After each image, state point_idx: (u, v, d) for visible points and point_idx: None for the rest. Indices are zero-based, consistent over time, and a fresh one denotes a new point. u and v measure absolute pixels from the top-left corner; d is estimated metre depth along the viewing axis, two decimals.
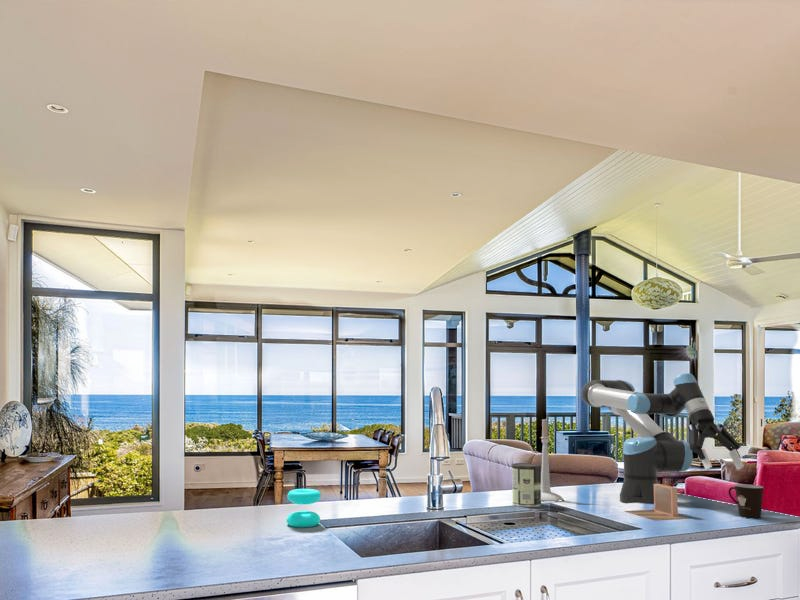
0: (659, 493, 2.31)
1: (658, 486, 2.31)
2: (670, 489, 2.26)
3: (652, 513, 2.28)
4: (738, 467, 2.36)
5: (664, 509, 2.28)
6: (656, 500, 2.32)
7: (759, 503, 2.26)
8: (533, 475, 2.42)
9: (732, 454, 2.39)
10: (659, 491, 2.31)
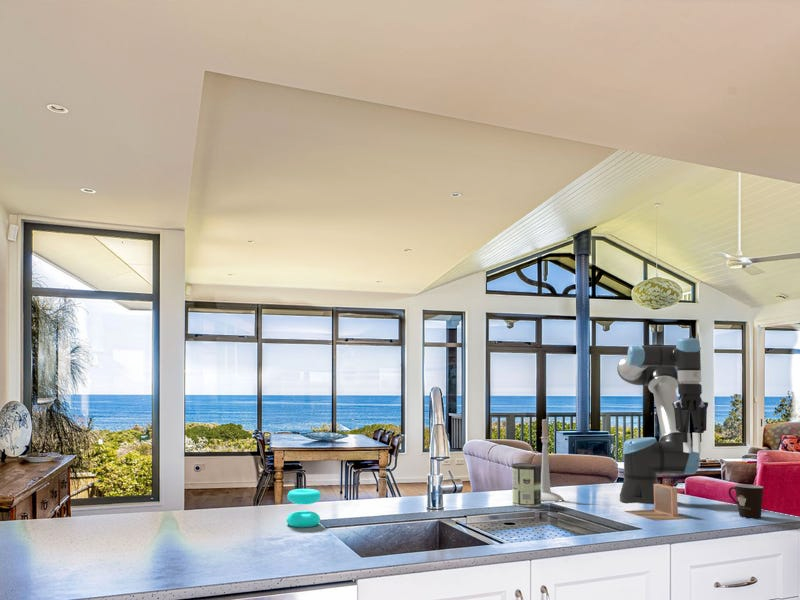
0: (659, 493, 2.31)
1: (658, 486, 2.31)
2: (670, 489, 2.26)
3: (652, 513, 2.28)
4: (695, 450, 2.35)
5: (664, 509, 2.28)
6: (656, 500, 2.32)
7: (759, 503, 2.26)
8: (533, 475, 2.42)
9: (694, 436, 2.36)
10: (659, 491, 2.31)
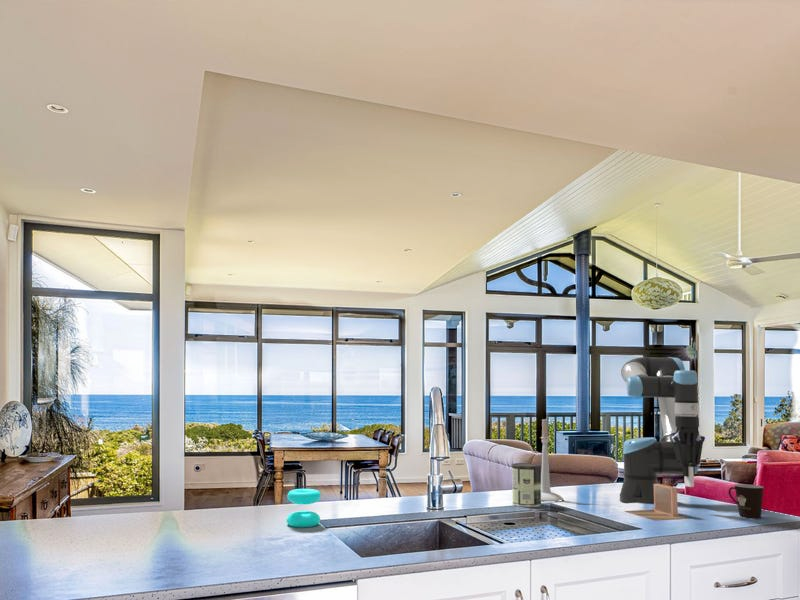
0: (659, 493, 2.31)
1: (658, 486, 2.31)
2: (670, 489, 2.26)
3: (652, 513, 2.28)
4: None
5: (664, 509, 2.28)
6: (656, 500, 2.32)
7: (759, 503, 2.26)
8: (533, 475, 2.42)
9: None
10: (659, 491, 2.31)
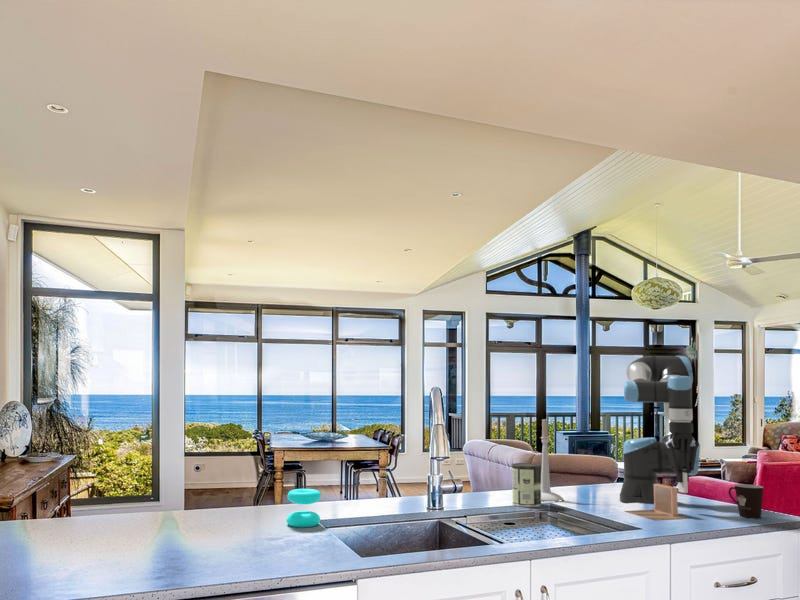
0: (659, 493, 2.31)
1: (658, 486, 2.31)
2: (670, 489, 2.26)
3: (652, 513, 2.28)
4: None
5: (664, 509, 2.28)
6: (656, 500, 2.32)
7: (759, 503, 2.26)
8: (533, 475, 2.42)
9: None
10: (659, 491, 2.31)
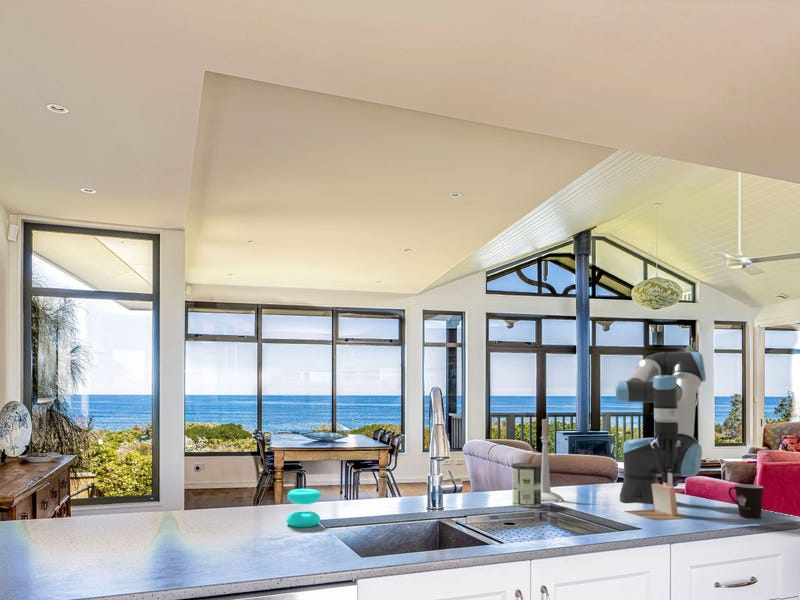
0: (657, 494, 2.31)
1: (656, 486, 2.31)
2: (668, 489, 2.25)
3: (652, 513, 2.28)
4: None
5: (664, 509, 2.28)
6: (655, 500, 2.32)
7: (759, 503, 2.26)
8: (533, 475, 2.42)
9: None
10: (657, 491, 2.30)
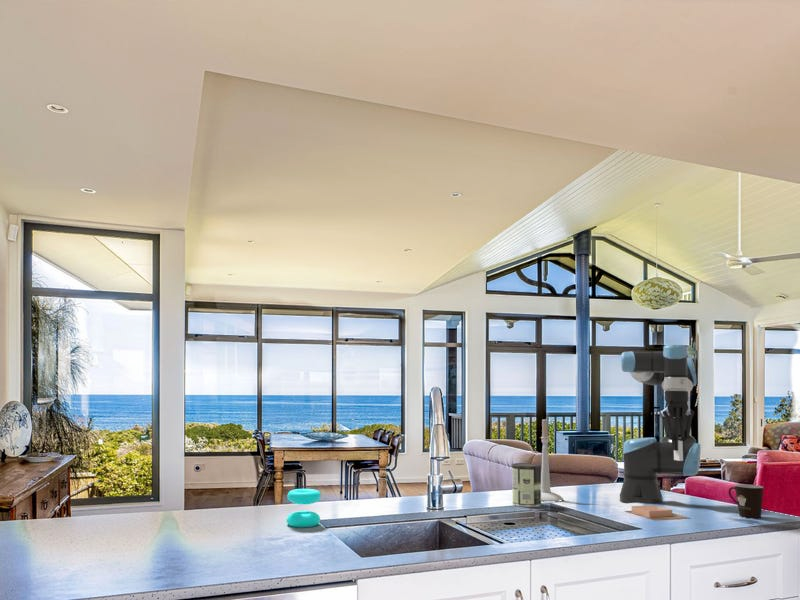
0: None
1: (637, 513, 2.27)
2: (649, 516, 2.22)
3: None
4: None
5: None
6: None
7: (759, 503, 2.26)
8: (533, 475, 2.42)
9: None
10: None
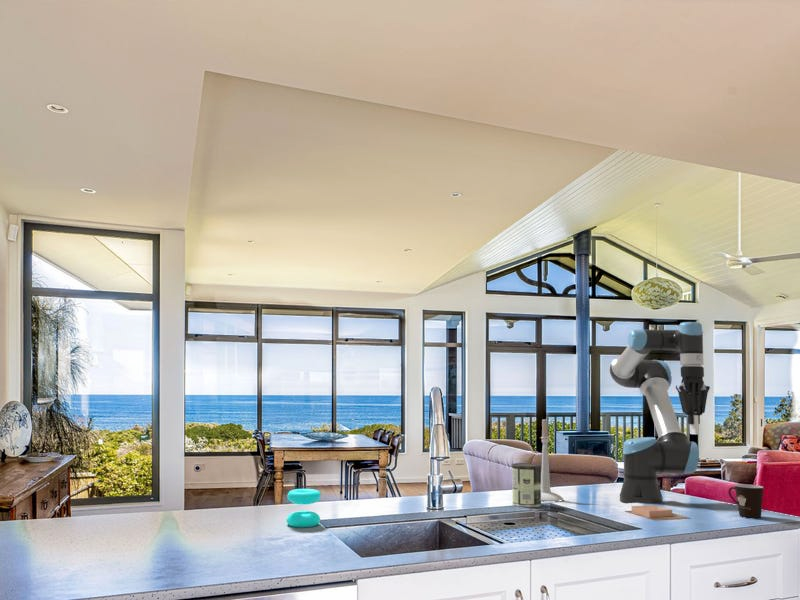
0: None
1: (637, 513, 2.27)
2: (649, 516, 2.22)
3: None
4: None
5: None
6: None
7: (759, 503, 2.26)
8: (533, 475, 2.42)
9: None
10: None
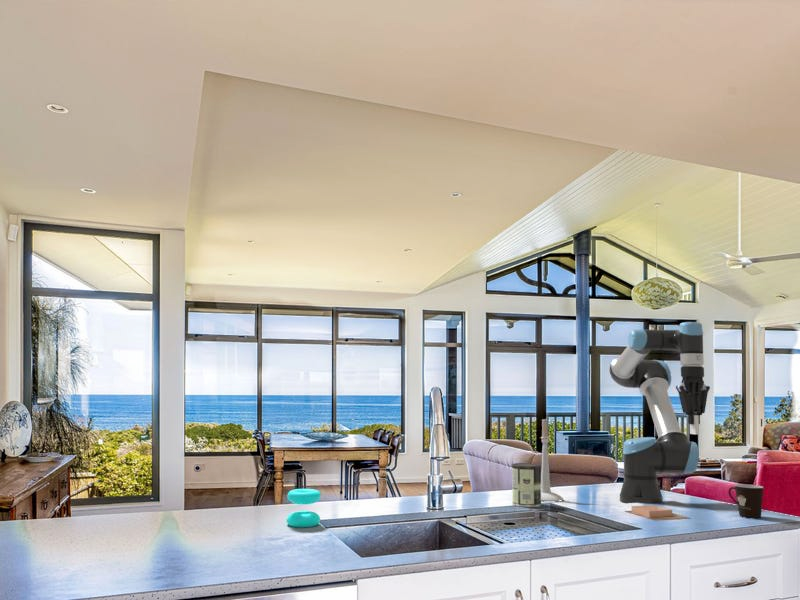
0: None
1: (637, 513, 2.27)
2: (649, 516, 2.22)
3: None
4: None
5: None
6: None
7: (759, 503, 2.26)
8: (533, 475, 2.42)
9: None
10: None
